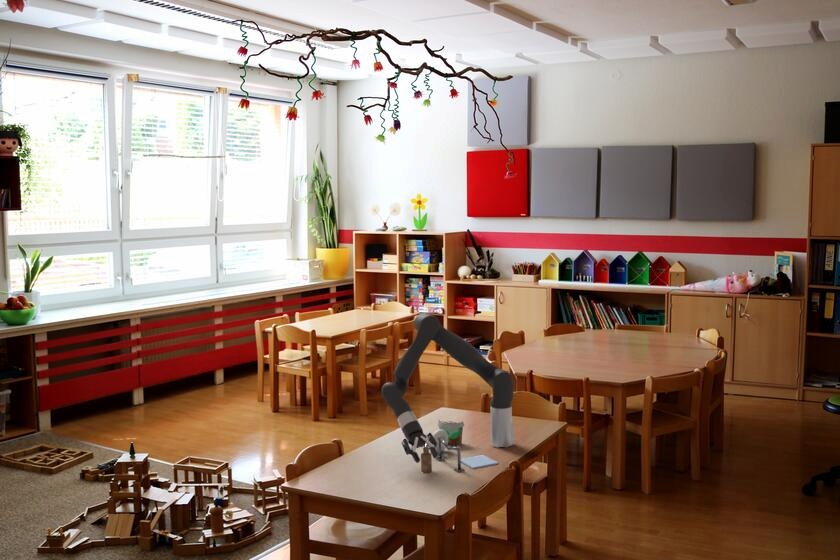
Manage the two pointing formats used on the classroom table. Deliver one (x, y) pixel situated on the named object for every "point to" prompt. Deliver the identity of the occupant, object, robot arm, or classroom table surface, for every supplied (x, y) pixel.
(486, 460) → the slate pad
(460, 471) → the grey stand
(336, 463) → the classroom table surface
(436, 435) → the grey wheel
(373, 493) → the classroom table surface
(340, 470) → the classroom table surface
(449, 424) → the food container
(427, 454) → the brown bottle
